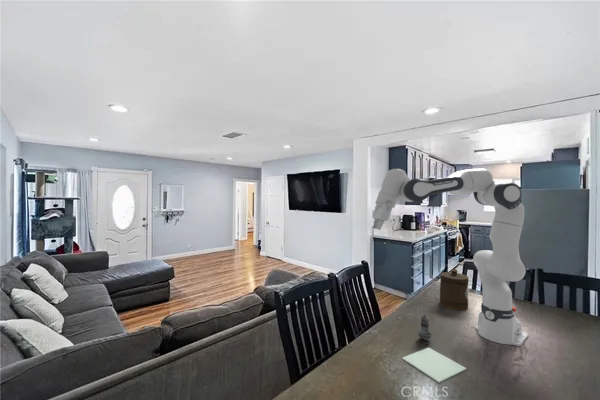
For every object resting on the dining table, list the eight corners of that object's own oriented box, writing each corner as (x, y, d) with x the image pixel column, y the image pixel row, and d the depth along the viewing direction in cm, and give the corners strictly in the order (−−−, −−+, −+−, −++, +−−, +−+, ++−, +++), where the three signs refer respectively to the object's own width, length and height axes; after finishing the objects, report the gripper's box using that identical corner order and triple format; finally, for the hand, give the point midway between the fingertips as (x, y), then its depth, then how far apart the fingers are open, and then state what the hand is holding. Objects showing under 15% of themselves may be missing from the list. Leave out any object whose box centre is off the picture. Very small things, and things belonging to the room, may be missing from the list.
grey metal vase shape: (415, 337, 125) (415, 311, 125) (427, 337, 125) (427, 311, 125) (421, 344, 119) (422, 317, 119) (434, 344, 119) (434, 317, 119)
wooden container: (473, 310, 155) (474, 272, 155) (447, 310, 155) (448, 272, 155) (459, 300, 170) (459, 265, 170) (435, 300, 170) (435, 265, 170)
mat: (428, 348, 116) (428, 347, 116) (466, 369, 102) (466, 368, 102) (402, 358, 108) (402, 357, 108) (439, 383, 94) (439, 381, 94)
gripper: (398, 202, 117) (387, 232, 117) (387, 204, 138) (378, 230, 137) (384, 197, 118) (373, 227, 118) (375, 200, 138) (366, 225, 138)
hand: (376, 228), depth 128 cm, fingers open, 8 cm apart
